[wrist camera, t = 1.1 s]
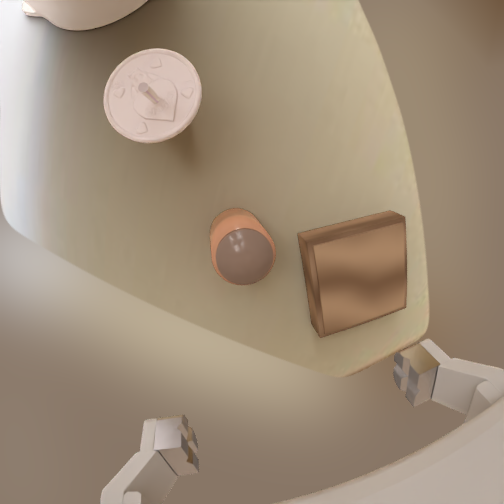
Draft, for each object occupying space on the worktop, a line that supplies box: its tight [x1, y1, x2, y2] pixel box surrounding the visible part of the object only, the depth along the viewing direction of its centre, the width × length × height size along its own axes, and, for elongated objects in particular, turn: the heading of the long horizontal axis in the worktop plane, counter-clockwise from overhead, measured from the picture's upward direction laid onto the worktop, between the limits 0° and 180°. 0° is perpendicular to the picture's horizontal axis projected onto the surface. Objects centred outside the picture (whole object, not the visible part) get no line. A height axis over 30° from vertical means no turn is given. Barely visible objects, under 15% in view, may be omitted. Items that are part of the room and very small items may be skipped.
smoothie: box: [103, 48, 202, 143], centre depth 19 cm, size 6×6×14 cm
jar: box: [210, 208, 276, 285], centre depth 27 cm, size 5×5×7 cm
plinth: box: [298, 211, 407, 338], centre depth 32 cm, size 11×11×3 cm
